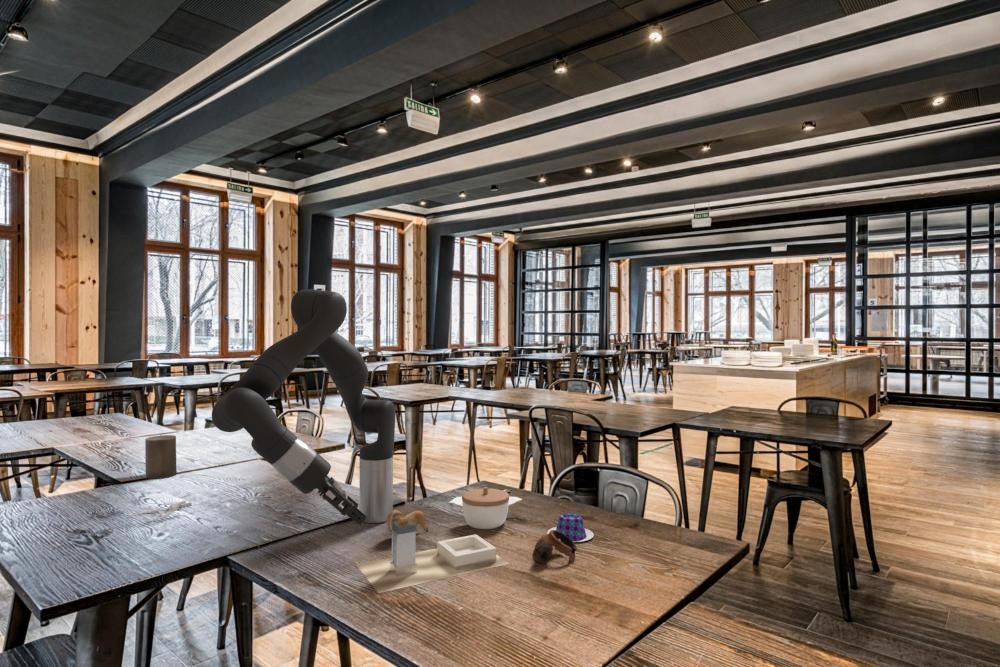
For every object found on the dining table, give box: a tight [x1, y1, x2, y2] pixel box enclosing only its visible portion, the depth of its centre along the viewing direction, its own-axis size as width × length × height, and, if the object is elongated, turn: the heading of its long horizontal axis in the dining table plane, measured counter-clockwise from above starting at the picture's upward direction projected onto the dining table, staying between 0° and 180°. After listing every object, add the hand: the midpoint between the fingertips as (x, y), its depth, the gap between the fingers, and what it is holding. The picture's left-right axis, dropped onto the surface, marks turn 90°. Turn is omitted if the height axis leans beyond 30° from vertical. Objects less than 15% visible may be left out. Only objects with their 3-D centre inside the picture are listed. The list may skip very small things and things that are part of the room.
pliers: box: [127, 500, 192, 523], centre depth 171 cm, size 10×2×15 cm
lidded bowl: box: [461, 486, 510, 530], centre depth 159 cm, size 13×13×11 cm
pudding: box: [546, 512, 595, 543], centre depth 154 cm, size 12×12×5 cm
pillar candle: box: [144, 433, 178, 480], centre depth 212 cm, size 10×10×15 cm
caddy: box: [436, 534, 497, 570], centre depth 135 cm, size 10×10×3 cm
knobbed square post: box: [390, 517, 417, 577], centre depth 127 cm, size 4×5×11 cm
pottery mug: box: [532, 530, 578, 565], centre depth 135 cm, size 12×10×8 cm
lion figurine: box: [386, 509, 430, 534], centre depth 150 cm, size 15×5×9 cm, turn 151°
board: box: [355, 548, 510, 594], centre depth 131 cm, size 16×30×2 cm, turn 119°
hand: (358, 514), depth 123 cm, fingers open, 8 cm apart
